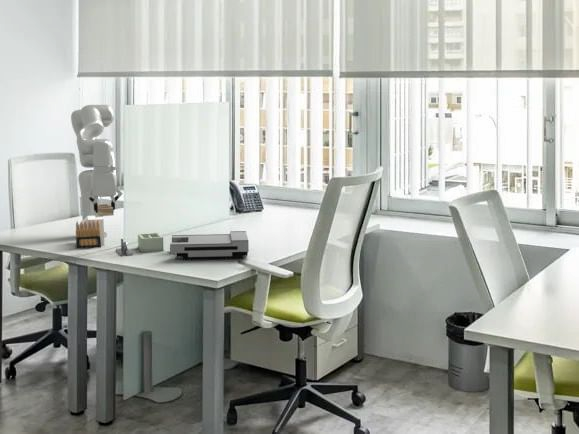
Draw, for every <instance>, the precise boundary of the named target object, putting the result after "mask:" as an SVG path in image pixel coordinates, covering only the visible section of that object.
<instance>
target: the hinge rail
mask: <svg viewBox="0 0 579 434" xmlns="http://www.w3.org/2000/svg"><path fill="white" fill-rule="evenodd" d="M115 250H116V252H117V253H118V255H119V256H120V257H127V256H128V257H129V256H133V255H134V254H133V252H132V251H131V250H130V249H129V248H128V241H125V239H124V238H120V247H119V248H116V249H115Z"/></svg>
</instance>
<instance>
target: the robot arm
mask: <svg viewBox="0 0 579 434" xmlns="http://www.w3.org/2000/svg"><path fill="white" fill-rule="evenodd" d="M114 116H115V115H114V110H113V108H112V107H111V106H110V105H109V104H87V105H85V106H83V107H81V109H76V110H74V111H72V113H71V115H70V121H71V126H72V128H73V131H74V133H75V136H76V146H77V149H78V155H79V162H80V165H81V166H82V167H83V168H86V169H87V168H88V169H87V170H82V171H80V173H79V174H78V177H77V178H78V184H79V190H80V197H81V198H80V199H81V201H80V202H81V218H82V219H81V221H83V220H84V219H85V218H86V217H87V216H95V217H103V218H104V216H99V215H98V214H97V212H98V208H97V207H98V204H103V197H104V198H105V197H107V198H108V197H110V200H111V202H110V205H111V206H112V207H113V212H114V213H115V210H116V202H117V201H118V200H119V199H120V197H122V195H123V192H122V191H121V190H120V189H118V187H117V186H118V177H117V168H116V160H115V158H116V157H115V153H114V151H113V149H114V147H113V142H111V140H110V139H108V138H97V137H100V135H102V134H103V132H104V129H105V128H107V127H110V125H111V124H112V123H113V122H114V118H115V117H114ZM89 168H90V169H89ZM91 168H93V169H91ZM116 194H117V195H116ZM107 236H108V233H107V232H105V231H104V238H106V237H107Z"/></svg>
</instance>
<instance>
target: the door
mask: <svg viewBox="0 0 579 434" xmlns="http://www.w3.org/2000/svg"><path fill="white" fill-rule="evenodd" d="M97 208H98V212H97V214H98V215H99V216H103V217H108V216H109V217H110V216H115V214H114V213H115V211H114V212H113V207H112V206H111V203H104V204H103V203H102V204H98V207H97Z"/></svg>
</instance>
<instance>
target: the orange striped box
mask: <svg viewBox="0 0 579 434" xmlns="http://www.w3.org/2000/svg"><path fill="white" fill-rule="evenodd" d="M81 221H82V220H81ZM85 221H86V223H87V230H88V223H89V221H90V223H91V229H92V227H93V226H92V225H93V221H94V222H95V228H96V229H97V221H99V227H100V238H101V245H102V246H105V237H104V232H105V226H104V221H105V220H104V216H103V217H95V216H87V217H86V218H85V219H84V220H83V221H82V224H83V230H84V223H85ZM78 224H79V231H80V223H78ZM96 236H97V234H96ZM96 241H97V239H96ZM88 244H89V243H88ZM92 244H93V239H92Z"/></svg>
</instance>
